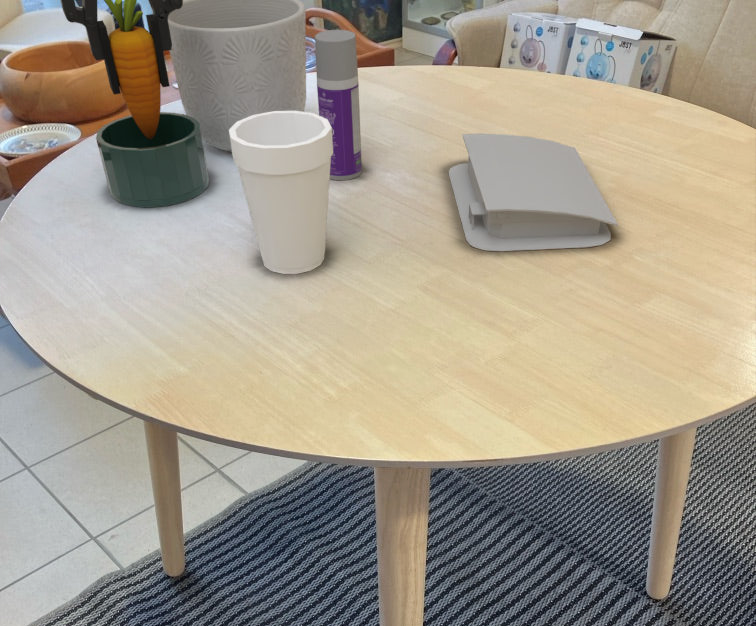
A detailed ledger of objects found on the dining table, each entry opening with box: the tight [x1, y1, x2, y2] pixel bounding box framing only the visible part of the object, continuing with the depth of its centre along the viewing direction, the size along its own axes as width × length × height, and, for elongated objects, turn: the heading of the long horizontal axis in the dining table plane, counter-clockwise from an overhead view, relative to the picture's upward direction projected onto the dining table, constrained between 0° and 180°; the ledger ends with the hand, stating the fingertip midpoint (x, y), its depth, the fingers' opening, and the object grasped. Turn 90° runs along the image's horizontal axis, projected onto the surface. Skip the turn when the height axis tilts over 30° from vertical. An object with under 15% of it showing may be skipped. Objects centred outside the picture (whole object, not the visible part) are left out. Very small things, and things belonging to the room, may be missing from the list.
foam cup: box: [229, 111, 333, 275], centre depth 83 cm, size 10×9×13 cm
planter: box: [168, 0, 307, 153], centre depth 106 cm, size 17×17×15 cm
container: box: [314, 29, 363, 181], centre depth 98 cm, size 5×5×15 cm
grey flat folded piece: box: [447, 132, 619, 252], centre depth 95 cm, size 15×23×4 cm, turn 3°
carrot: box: [103, 0, 162, 140], centre depth 93 cm, size 5×5×15 cm
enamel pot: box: [95, 111, 210, 208], centre depth 99 cm, size 12×12×6 cm
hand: (139, 86), depth 94 cm, fingers closed on carrot, 5 cm apart
